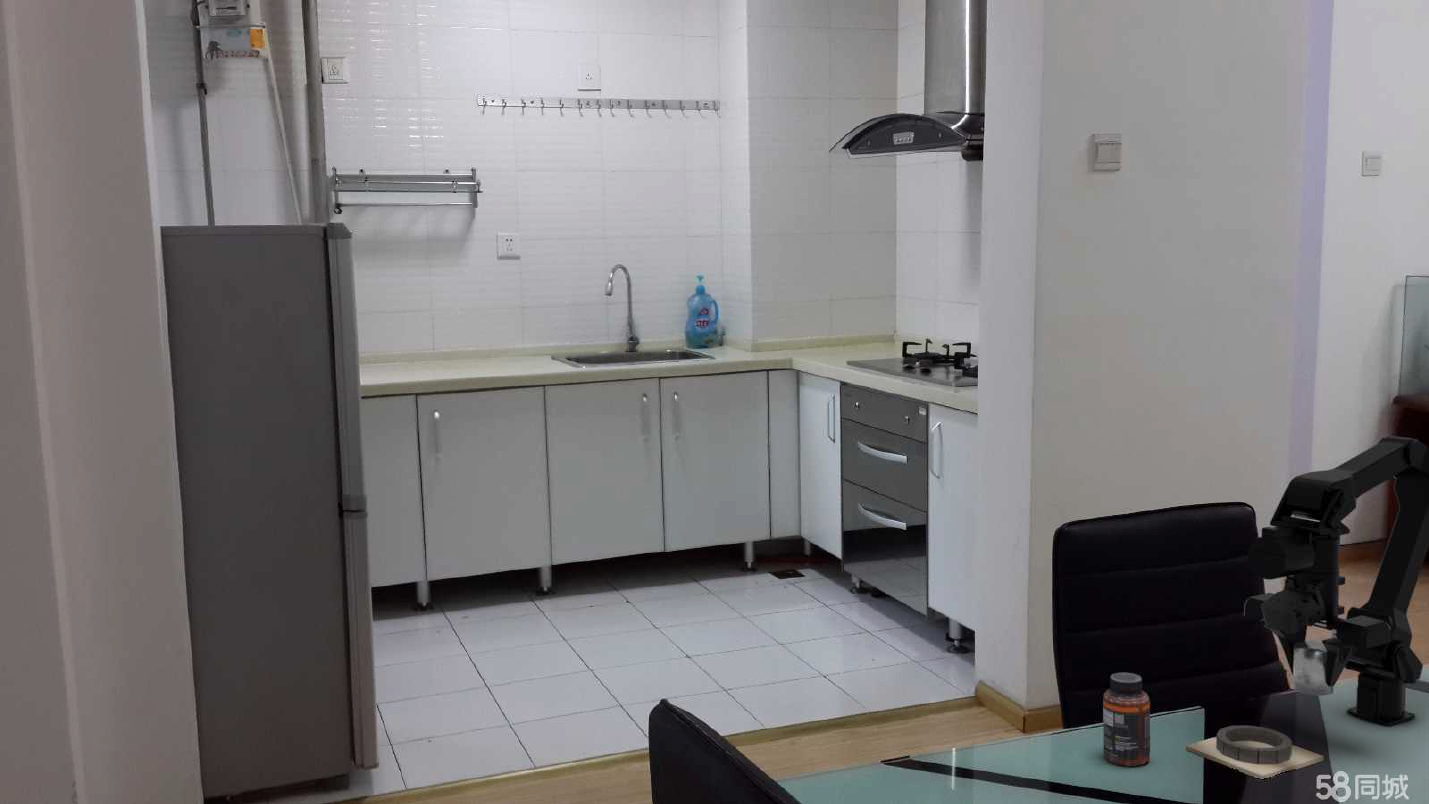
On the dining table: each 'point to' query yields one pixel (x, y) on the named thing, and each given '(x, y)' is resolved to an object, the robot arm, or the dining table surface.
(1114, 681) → the supplement bottle
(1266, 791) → the dining table surface
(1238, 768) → the ring seat
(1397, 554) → the robot arm
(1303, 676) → the cylinder
